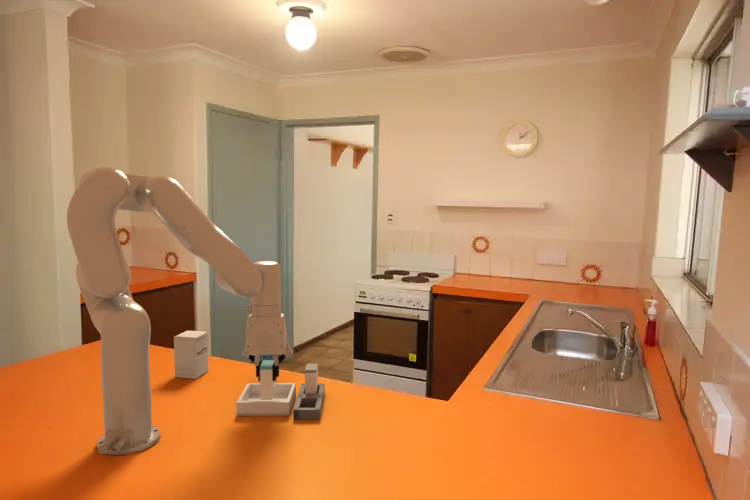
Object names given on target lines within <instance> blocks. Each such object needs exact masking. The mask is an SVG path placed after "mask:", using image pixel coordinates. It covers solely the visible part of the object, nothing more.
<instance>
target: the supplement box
mask: <svg viewBox="0 0 750 500" xmlns="http://www.w3.org/2000/svg"><path fill="white" fill-rule="evenodd" d="M208 333H209V331H203V330H201V331H200V330H185V331H184V332H181V333H179V334H177V335H175V336H173V346H174V347H173V351H174V378H182V379H192V380H197V379H198V378H199V377H201V376H202V375H204V374H206V373H208V372H209V370H210V369H209V337H208V336H209V334H208Z"/></svg>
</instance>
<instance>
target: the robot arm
mask: <svg viewBox="0 0 750 500" xmlns="http://www.w3.org/2000/svg"><path fill="white" fill-rule="evenodd" d="M78 181H79V182H78V187H77V188H76V189H75V191H74V192H73V194H72V196H71V197H70V201H69V203H68V206H67V211H66V224H67V231H68V235H69V237H70V241H71V243H72V248H73V251H74V254H75V257H76V259H77V260H76V261H77V265H76V268H75V277H76V280H77V285H78V287H79V289H80V293H81V295H82V298H83V300H84V303H85V306H86V309H87V311H88V314H89V316H90V317H89V318H90V319H91V322H92V323H93V326H94V328H95V329H96V330H97V331H98V333H99V334H100V346H101V347H100V372H101V373H100V376H101V388H102V389H101V390H102V406H103V410H102V411H103V424H104V425H103V426H104V427H103V428H104V429H103V430H104V434H102V435H101V436H100V437H99V438H98V439H97V442H96V448H97V452H98V453H99V454H100V455H111V456H113V455H114V456H118V455H120V456H122V455H129V454H134V453H137V452H140V451H144V450H146V449H148V448H150V447H152V446H154V445H155V444H156V443H157V442H158V441H159V440H160V438H161V430H160V429H159V428H158V427H157V426H154V425H153V416H152V415H153V414H152V413H153V411H152V410H153V409H152V408H153V407H152V389H151V387H152V386H151V370H150V369H151V368H150V367H151V365H150V364H151V363H150V345H151V344H150V343H151V334H152V333H151V332H152V326H151V320H150V316H149V315H148V313H147V311H146V310H145V309H144V307H143V306H141V305H140V304H139V303H138V302H136V301H135V300H134V299H133V295H132V292H131V290H130V285H131V281H132V274H131V273H132V272H131V269H130V266H129V264H128V262H127V259H126V256H125V254H124V250H123V247H122V245H121V242H120V239H119V235H118V232H117V229H116V227H117V226H116V221H115V219H116V215H117V211H118V210H120V211H128V212H137V213H147V214H149V213H150V214H153V215H154V216H155V217H156V218H157V219H158V220H159V221H160V222H161V224H163V226H165V228H167V230H168V231H169V232H170V233H171V234H172V235H173V236H174V237H175V239H177V241H178V242H179V243H180V244H181V245H182V246H183V247H184V248H185V250H187V251H189V252H190V254H192V255H194V256H196V257H197V258H199V259H200V260H202V261H203V262H205V263H207V264H208V265H209V266H211V268H212V269H214V270H215V271H216V275H215V281H216V283H217V286H219V288H220V289H222V290H224V291H225V292H227V293H229V294H233V295H235V296H237V297H241V298H245V299H247V298H250V304H248V305H247V304H246V305H245V308H244V309H245V311H248V312H250V314H249V315H248V316H247V320H246V329H245V346H244V348H243V349H242V351H241V356H243V357H245V358H247V359H248V360H249V361H251V362H252V363H253V364H254V367H255V376H256V378H258V382H260V366H261V364H262V361H261V355H273V359H274V363H273V367H272V371H273V381H275V382H276V380H277V378H278V377H279V376H280V364H281V363H283V361H284V360H285V359H286V358H289V357H291V356H292V355H293V353H294V350H293V349H292V347H291V345H290V344H289V342H288V332H287V324H286V318H285V315H284V313H282V284H281V283H282V282H281V281H282V279H281V278H282V277H281V274H282V273H281V271H282V269H281V265H280V264H279V263H278V262H277V261H275V260H274V261H273V260H263V261H262V260H260V261H256V262H253V261H252V260H251V259H250V258H249V256H248V255H247V254H246V253H245V252H244V251H243V249H242V248H240V247H239V245H237V244H236V243H235V242H234V241H233V240H232V239H231V238H230V237H228V236H227V234H225V233H224V232H223V230H222V229H220V228H219V226H217V225H216V224H215V223H214V222H213V221H212V220H211V219H210V218H209V217H208V215H207V214H206V213H205V212H204V211H203V209H202V208H201V207H200V206H199V205H198V204H197V202H196V201H195V200H194V199H193V197H192V196H191V195H190V194H189V193H188V192H187V190H185V188H184V187H183V186H182V184H180V182H178V181H177V180H176V179H174V178H172V177H169V176H162V175H161V176H147V175H138V174H132V173H125V172H123V171H122V170H120V169H117V168H115V167H111V166H102V167H97V168H92V169H90V170H88V171H86V172H85V173H84V174H83V175H82V176H81V178H80V179H79V180H78Z"/></svg>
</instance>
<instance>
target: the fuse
mask: <svg viewBox="0 0 750 500" xmlns="http://www.w3.org/2000/svg"><path fill="white" fill-rule="evenodd" d="M304 384H305V394H318V384H319V364H318V363H306V365H305V369H304Z"/></svg>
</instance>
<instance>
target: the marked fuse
mask: <svg viewBox="0 0 750 500" xmlns="http://www.w3.org/2000/svg"><path fill="white" fill-rule="evenodd" d="M273 363H274V360H263V362H262V364H261V366H260V381H259V383H260V395H261V400H273V397H274V395H275V393H276V387H275V383H276V381H273V371H272V367H273Z"/></svg>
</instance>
